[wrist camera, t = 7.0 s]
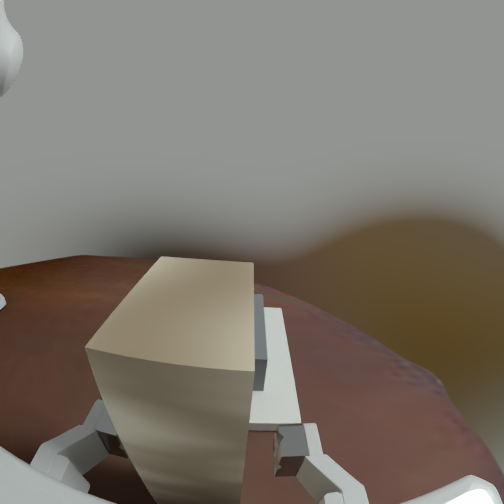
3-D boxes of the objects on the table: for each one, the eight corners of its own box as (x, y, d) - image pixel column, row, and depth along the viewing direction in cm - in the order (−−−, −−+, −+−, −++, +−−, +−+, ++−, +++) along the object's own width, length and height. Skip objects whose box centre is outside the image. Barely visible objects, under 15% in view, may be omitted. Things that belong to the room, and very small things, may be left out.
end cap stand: (142, 416, 18) (131, 377, 16) (185, 308, 35) (184, 276, 33) (298, 430, 18) (310, 392, 17) (280, 315, 35) (284, 282, 34)
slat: (181, 536, 9) (84, 346, 4) (190, 474, 13) (161, 256, 9) (234, 542, 9) (254, 371, 4) (236, 479, 14) (253, 262, 9)
